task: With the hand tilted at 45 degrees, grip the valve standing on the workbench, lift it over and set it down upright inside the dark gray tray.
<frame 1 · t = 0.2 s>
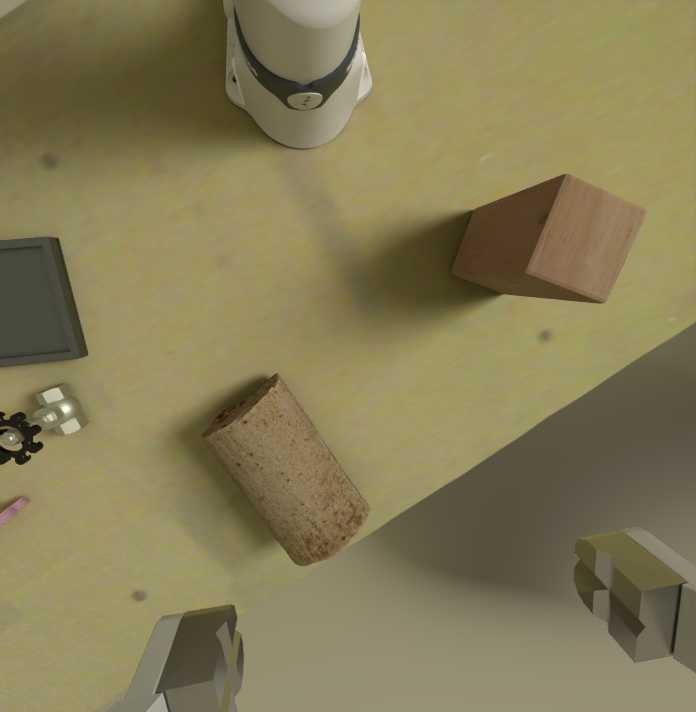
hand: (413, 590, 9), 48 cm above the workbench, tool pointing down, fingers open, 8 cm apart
wooden block: (489, 253, 56), on the workbench
valve: (72, 404, 54), on the workbench
core sample: (289, 455, 60), on the workbench
dark gray tray: (11, 304, 50), on the workbench
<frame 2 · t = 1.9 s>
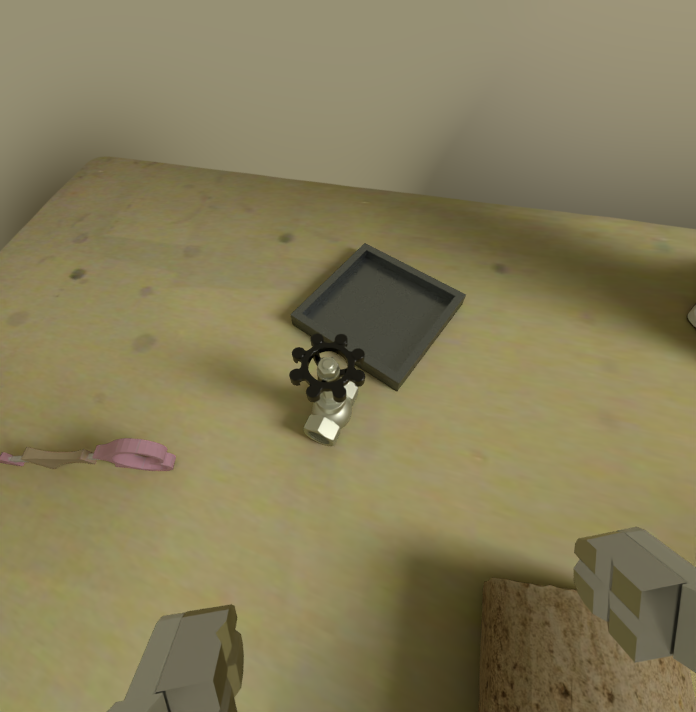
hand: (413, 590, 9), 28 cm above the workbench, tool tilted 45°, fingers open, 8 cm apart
decorative key: (89, 464, 38), on the workbench
valve: (332, 418, 41), on the workbench
dark gray tray: (378, 314, 48), on the workbench
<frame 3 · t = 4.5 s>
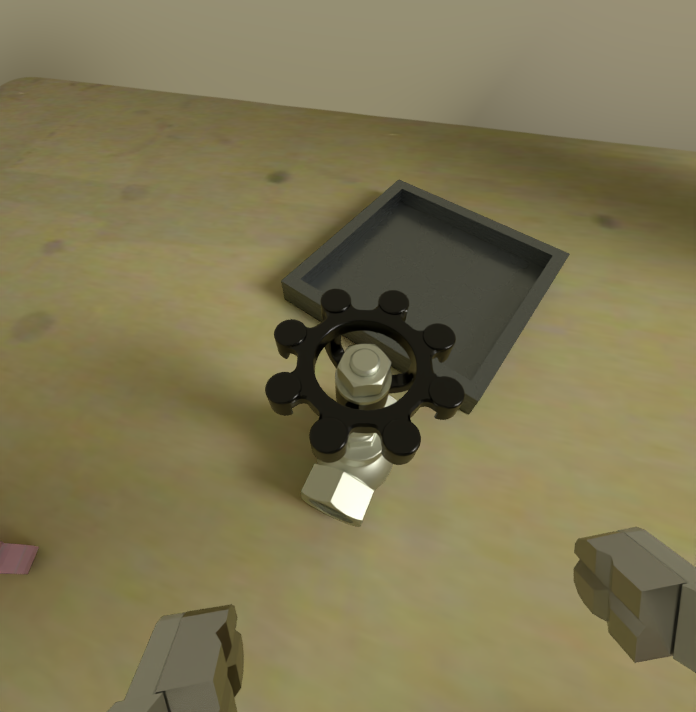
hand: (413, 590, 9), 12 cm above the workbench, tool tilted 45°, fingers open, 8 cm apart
valve: (354, 464, 22), on the workbench
dark gray tray: (425, 285, 30), on the workbench
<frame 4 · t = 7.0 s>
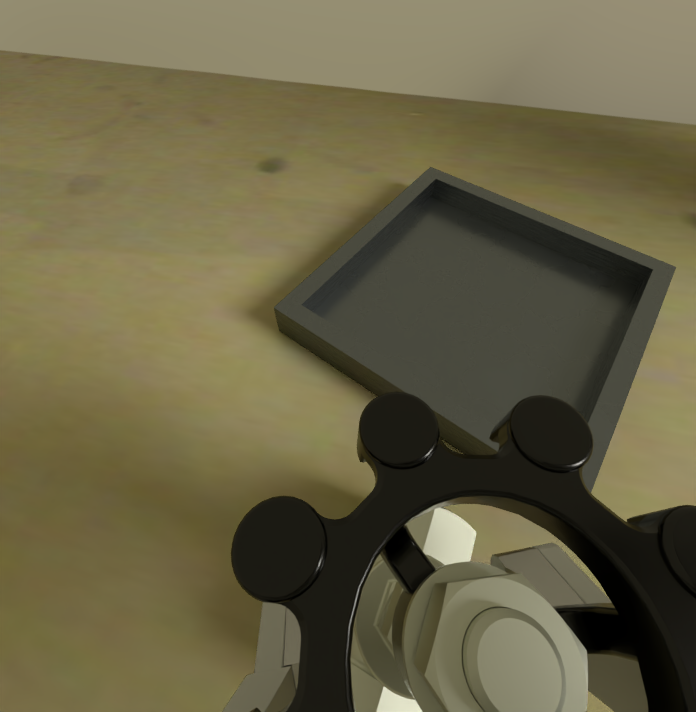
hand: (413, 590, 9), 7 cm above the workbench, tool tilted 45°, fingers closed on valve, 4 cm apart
valve: (388, 607, 14), on the workbench, touching gripper
dark gray tray: (473, 309, 22), on the workbench
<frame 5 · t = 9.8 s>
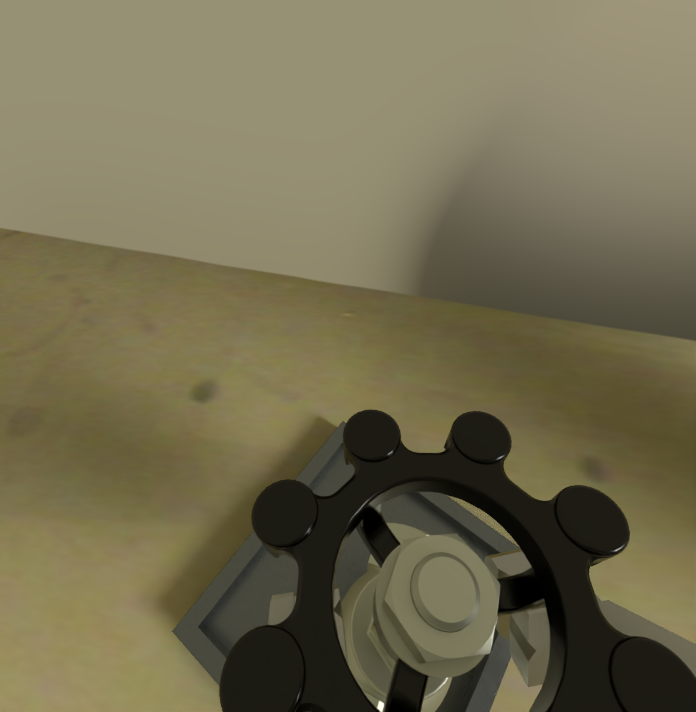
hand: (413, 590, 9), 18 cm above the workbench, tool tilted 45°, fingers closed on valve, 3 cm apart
valve: (388, 642, 15), point 10 cm above the workbench, touching gripper
dark gray tray: (366, 596, 24), on the workbench
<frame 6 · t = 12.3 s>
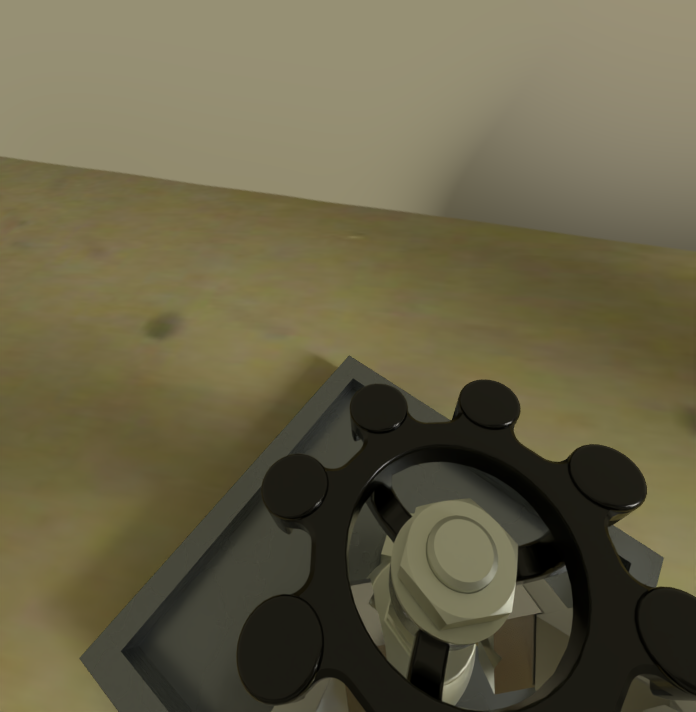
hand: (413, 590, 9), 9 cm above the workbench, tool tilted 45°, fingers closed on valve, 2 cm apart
valve: (406, 636, 14), point 1 cm above the workbench, touching gripper, dark gray tray
dark gray tray: (385, 602, 16), on the workbench
when the fingers open (9 cm above the workbench, at t = 12.3 s): valve stays where it is, resting on dark gray tray.
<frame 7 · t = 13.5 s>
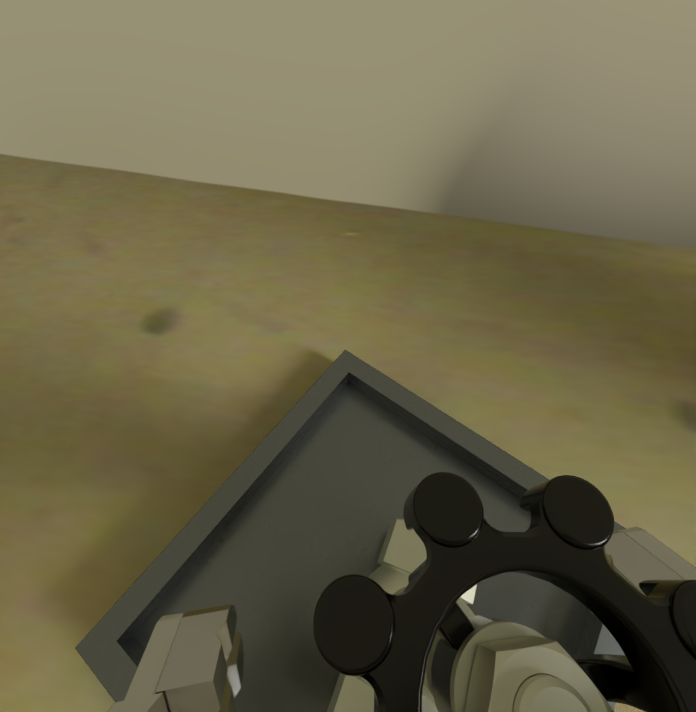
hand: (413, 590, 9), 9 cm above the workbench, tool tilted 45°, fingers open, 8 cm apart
valve: (396, 626, 15), resting on dark gray tray
dark gray tray: (381, 593, 16), on the workbench
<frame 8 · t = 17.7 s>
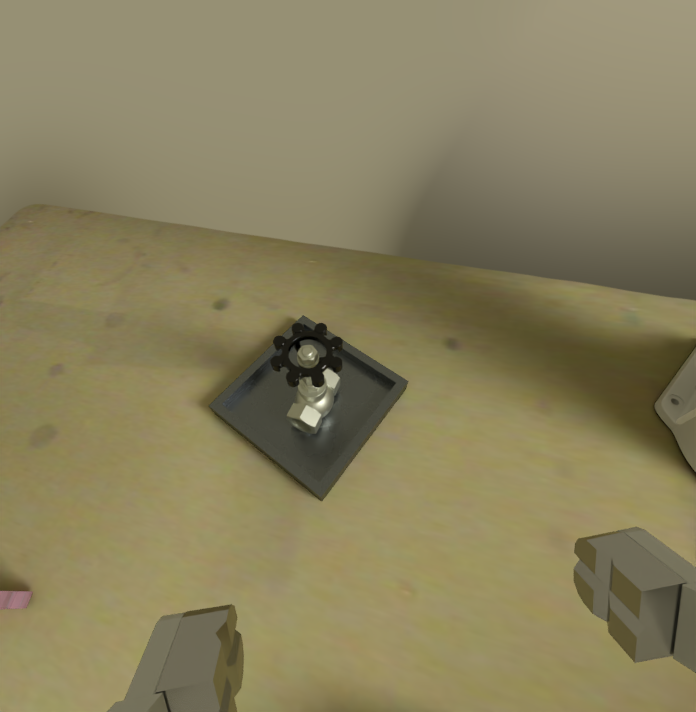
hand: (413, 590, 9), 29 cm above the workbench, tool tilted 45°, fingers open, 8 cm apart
valve: (315, 408, 42), resting on dark gray tray
dark gray tray: (312, 400, 43), on the workbench
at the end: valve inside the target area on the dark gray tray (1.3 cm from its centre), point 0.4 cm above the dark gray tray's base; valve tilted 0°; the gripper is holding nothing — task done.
